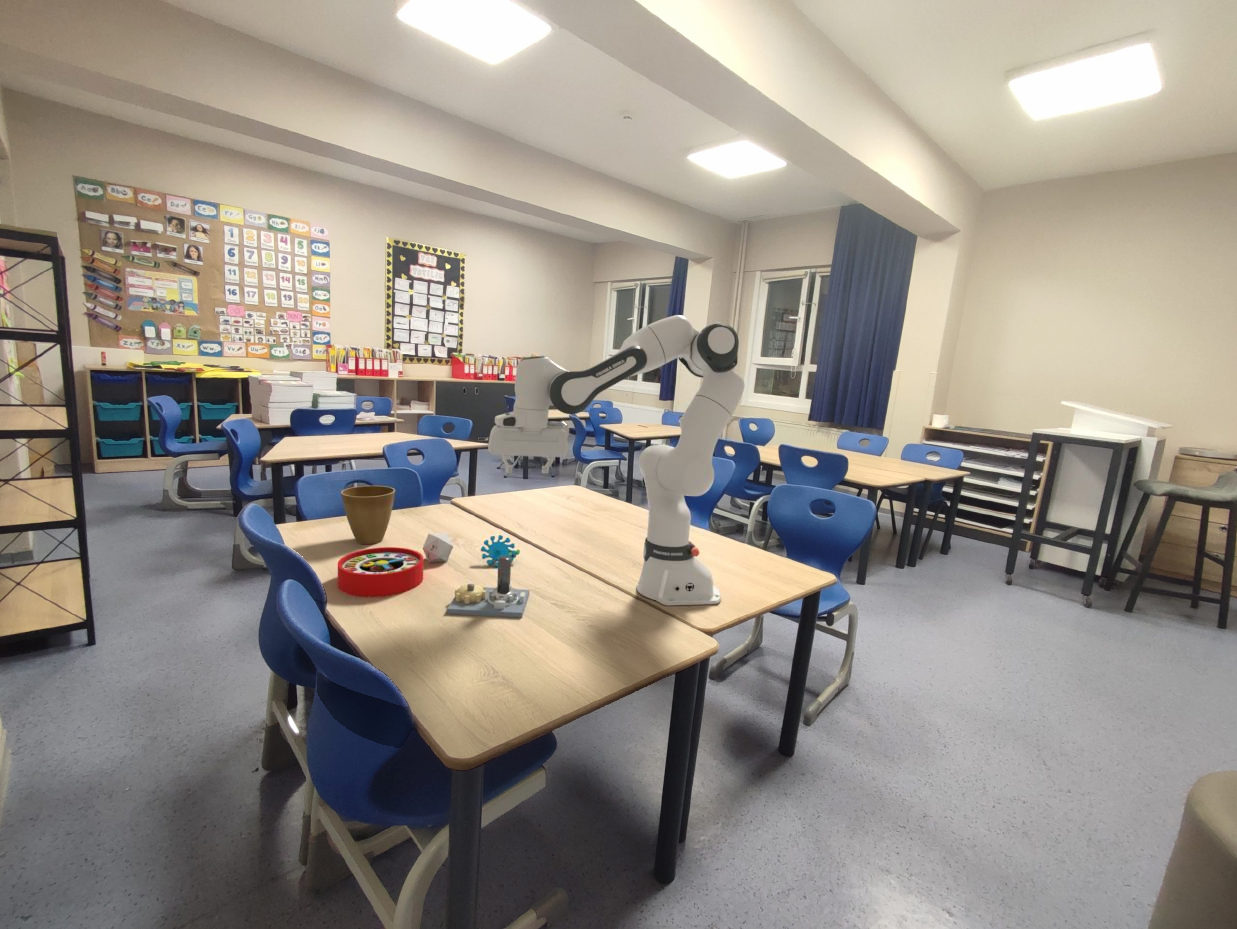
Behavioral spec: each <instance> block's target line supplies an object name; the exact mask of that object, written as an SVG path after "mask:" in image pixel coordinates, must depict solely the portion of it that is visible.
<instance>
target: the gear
mask: <svg viewBox="0 0 1237 929" xmlns="http://www.w3.org/2000/svg"><path fill="white" fill-rule="evenodd" d="M497 562H498V568H497V581H496V582H497V583H496V584H497V586H495V587H493V588H494V590H490V591H489V598H490V601H491V602H494V601H495V600H501V601H505V603H512V602H513V600H517V593H518V592H516V589H517V588H515V587H512V588H510V585H511V570H512V562H511V557H509V556H501V557H499V558H498V561H497Z"/></svg>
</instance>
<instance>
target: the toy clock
mask: <svg viewBox="0 0 1237 929" xmlns="http://www.w3.org/2000/svg"><path fill="white" fill-rule="evenodd" d="M423 580H424V556H423V554H422V553H421V552H419V551H418V550H415V549H410V548H404V547H397V546H396V547H395V546H383V547H372V548H366V549H361V550H357V551H353V552H350V553H348V554H346V555H344V556H343V557H340V559H339V560H338V561H337V588H338V589H339V591H340V592H342V593H344V594H346V595H348V596H353V597H359V598H380V597H381V598H383V597H390V596H395V595H399V594H403V593H406V592H409V591H412V590H413V589H416V588H417V587H419V586H420V585H421V584H422V583H423Z"/></svg>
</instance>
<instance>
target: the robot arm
mask: <svg viewBox="0 0 1237 929" xmlns="http://www.w3.org/2000/svg"><path fill="white" fill-rule="evenodd" d="M739 340H740V339H739V336H738V334H737V331H736V330H735V329H734V328H733V327H732V326H731V325H729V324H727V323H724V322H714V323H711V324H709V325H707V326H705V327H703V328H702V329H701V331H699V330H696V329H695V328H694V326H693V325H692V323H691V321H689V319H688V318H687V317H685V316H684V315H680V314H675V315H671V316H668V317H664V318H662V319H659V320H656V321H654V322H651V323H650V324H648V325H645V326H643V327H642V328H640V329H638V330H636V331H635V332H634V333H631V335H629V336H628V337H627V338H626V339H624V341H623V342H622V344H621V347H620V348H619V349H618V351H617V352H616V353H614V354H613V355H612V356H610V357H609V358H607V359H605V360H603V361H601V362H599V363H597V364H595V365H594V366H591V367H589V368H587V369H585V370H584V369H583V370H579V371H575V370H574V371H573V370H572V371H570V370H567V369H565V368H564V367H561V366H560V365H558V364H557V363H555V362H554V361H553V360H551V359H550V358H549V357H548V356H545V355H537V356H536V355H535V356H527V357H524V358H522V359H520V361H519V362H518V363H517V366H516V371H515V379H514V393H515V401H514V404H513V411H509V412H507V413H506V412H505V413H502V414H499V415H498V414H497V415H496V416H495V417H494V424H495V425H493V427H492V428H491V430H490V434H489V438H488V443H487V444H488V445H487V446H488V447H487V448H488V449H487V450H488V452H489V453H490V454H491V455H492V456H501V459H502V461H503V463H504V465H505V473H506V474H513V468H514V466H513V465H512V464H511V465H510V464H509V463H508V462H509V461H507V460H510V459H509V458H510V456H514V457H542V458H543V457H544V458H545V457H546V460H547V462H546V464H545V465H542V466H541V473H542V474H546V475H547V474H549V470H550V467H551V466H552V464H553V463H554V460H555V459H554V458H566V456H567V455H568V451H569V450H568V445H569V443H568V437H569V435H570V426H569V425H568V424H566V423H565V422H564V421H553V420H549V408H550V406H553V407H554V408H555V409H556V410H557V411H559V412H561V413H563V414H566V415H577V414H579V413H582V412H583V411H584V410H585V409H587V408H588V407H589V406H590V404H591V403H592V402H593V401H594V399H595V398H596V397H597V396H598V395H599V394H601V393H602V392H603V391H606V390H607V389H609V388H611V387H613V386H615V385H616V384H619V383H620V382H622V381H624V380H625V379H627V378H630V377H633V376H636V375H637V376H638V375H642V374H645V373H648V372H651V371H653V370H656V369H658V368H660V367H662V366H664V365H666V364H668V363H670V362H672V361H674V360H676V359H678V360H679V362H681V364H682V365H684V367H685V368H686V369H687V371H688V372H689V373H690V374H691V375H693V376H694V377H697V378H702V382H701V385H700V388H699V389H698V391H697V392H696V394H695V395H694V397H693V399H691V401H690V403H689V405H688V407H687V408H686V409H685V411H684V413H683V414H682V416H681V418H680V419H679V427H680V430H681V431H680V435H679V436H680V437H679V439H678V443H677V444H676V446H675V447H674V446H671V445H667V444H654V445H649V446H647V447H646V448H644V450H643V451H642V452H641V453H640V455H639V458H638V469H639V471H640V474H641V475H642V477H643V481H644V484H645V492H646V497H647V503H648V506H647V507H648V519H647V520H648V522H647V534H646V537H645V540H644V545H643V559H644V560H643V564H642V570H641V572H640V577H639V578H638V582H637V585H636V588H635V589H636V590H637V592H638V593H639V594H640V595H641V596H644V597H646V598H649V599H651V600H655V601H656V602H659V603H660V604H662V605H664V606H688V605H689V606H693V605H695V606H697V605H717V603H718V604H719V603H720V602H721V600H722V597H721V596H722V595H721V591H720V590H719V587H718V586H717V585H716V584H714V580H713V579H714V578H713V575H712V572H711V570H710V569H709V568H708V567H707V566H706V565H705V564H704V563H703V562H702V561H700V559H698V558H697V557H698V556H699V555H700V550H699V549H698V547H696V545H695V544H694V543H693V542H692V541H691V540H690V541H689V539H690V529H691V521H692V520H691V519H692V514H691V511H690V508H689V507H688V505H687V502H686V500H685V496H688V497H700V496H703V495H705V494H706V493H708V491H709V490H710V489H711V487H712V485H713V483H714V480H715V470H714V467H713V456H714V452H715V448H716V445H717V443H718V440H719V439H720V437H721V435H722V434H723V432H724V430H725V428H726V426H727V425H728V423H729V421H730V420H731V418H732V416H733V415H734V413H735V411H736V409H737V407H738V405H739V403H740V400H741V398H742V396H743V393H744V390H745V380H744V379H743V377H742V376H741V375H740V374H739V373H738V372H737V371H735V370H734V368H735V367H736V366H737V365H738V362H739V361H738V359H739V358H738V354H739V345H740V341H739Z"/></svg>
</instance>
